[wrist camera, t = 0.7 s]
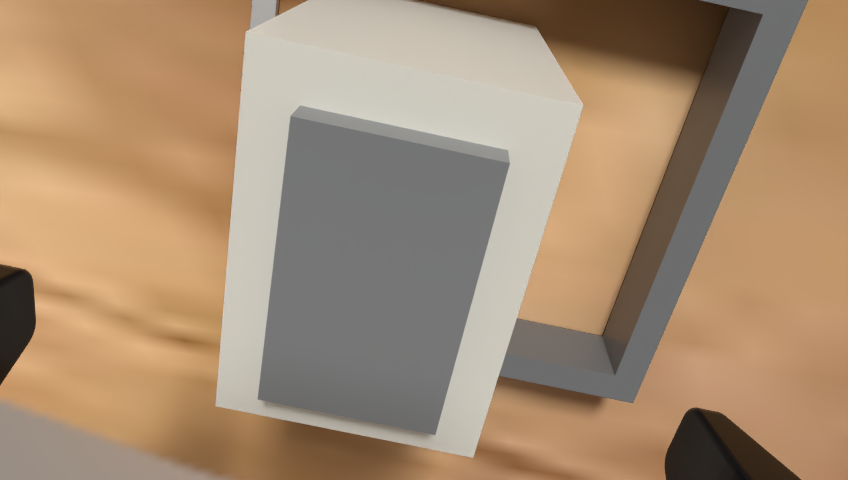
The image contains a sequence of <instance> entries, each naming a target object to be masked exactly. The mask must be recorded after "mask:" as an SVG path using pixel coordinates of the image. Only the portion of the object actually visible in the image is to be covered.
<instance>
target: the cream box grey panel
mask: <svg viewBox="0 0 848 480" xmlns="http://www.w3.org/2000/svg"><path fill="white" fill-rule="evenodd" d="M582 109H583V104H582V102H581V100H580V99H579V97H578V96H577V94H576V92H575V91H574V89H573V87H572V86H571V84H570V82H569V81H568V79H567V77H566V76H565V74H564V72H563V71H562V69H561V67H560V66H559V64H558V62H557V61H556V59H555V57H554V56H553V54H552V52H551V51H550V49H549V47H548V46H547V44H546V43H545V41H544V39H543V38H542V36H541V34H540V33H539V31H538V29H537V28H536V26H533V25H528V24H524V23H519V22H515V21H510V20H505V19H501V18H496V17H492V16H487V15H483V14H478V13H474V12H469V11H465V10H460V9H456V8H451V7H447V6H442V5H438V4H433V3H429V2H424V1H420V0H308V1H306V2H304V3H302V4H300V5H298V6H296V7H294V8H292V9H290V10H288V11H286V12H284V13H282V14H280V15H278V16H276V17H274V18H272V19H270V20H268V21H266V22H264V23H262V24H260V25H258V26H256V27H254V28H252V29H250V30H248V31H246V37H245V49H244V61H243V74H242V86H241V98H240V111H239V123H238V135H237V148H236V160H235V172H234V185H233V197H232V209H231V222H230V234H229V246H228V259H227V271H226V283H225V296H224V308H223V320H222V333H221V345H220V357H219V370H218V382H217V394H216V406H217V407H222V408H227V409H232V410H237V411H242V412H247V413H252V414H257V415H262V416H267V417H272V418H277V419H282V420H287V421H292V422H297V423H302V424H307V425H312V426H317V427H322V428H327V429H332V430H337V431H342V432H347V433H352V434H357V435H362V436H367V437H372V438H377V439H382V440H387V441H392V442H397V443H402V444H407V445H412V446H417V447H422V448H427V449H432V450H437V451H442V452H447V453H452V454H457V455H462V456H467V457H472V458H473V456H474V453H475V450H476V447H477V444H478V440H479V437H480V434H481V431H482V428H483V424H484V421H485V418H486V415H487V412H488V409H489V405H490V402H491V399H492V396H493V393H494V389H495V386H496V383H497V380H498V377H499V373H500V370H501V367H502V364H503V361H504V357H505V354H506V351H507V348H508V345H509V342H510V338H511V335H512V332H513V329H514V326H515V322H516V319H517V316H518V313H519V310H520V306H521V303H522V300H523V297H524V294H525V290H526V287H527V284H528V281H529V278H530V275H531V271H532V268H533V265H534V262H535V259H536V255H537V252H538V249H539V246H540V243H541V239H542V236H543V233H544V230H545V227H546V223H547V220H548V217H549V214H550V211H551V208H552V204H553V201H554V198H555V195H556V192H557V188H558V185H559V182H560V179H561V176H562V172H563V169H564V166H565V163H566V160H567V156H568V153H569V150H570V147H571V144H572V141H573V137H574V134H575V131H576V128H577V125H578V121H579V118H580V115H581V112H582Z"/></svg>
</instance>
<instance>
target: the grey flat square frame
mask: <svg viewBox="0 0 848 480" xmlns="http://www.w3.org/2000/svg"><path fill="white" fill-rule="evenodd" d="M701 1H706V2H710V3H715V4H719V5H723V6H728V7H730V8H729V10H728V13H727V16H726V18H725V21H724V23H723V26H722V29H721V31H720V34H719V36H718V39H717V41H716V44H715V47H714V49H713V52H712V54H711V57H710V60H709V62H708V65H707V67H706V70H705V72H704V75H703V78H702V80H701V83H700V85H699V88H698V91H697V93H696V96H695V98H694V101H693V104H692V106H691V109H690V111H689V114H688V116H687V119H686V122H685V124H684V127H683V129H682V132H681V135H680V137H679V140H678V142H677V145H676V147H675V150H674V153H673V155H672V158H671V160H670V163H669V166H668V168H667V171H666V173H665V176H664V178H663V181H662V184H661V186H660V189H659V191H658V194H657V197H656V199H655V202H654V204H653V207H652V209H651V212H650V215H649V217H648V220H647V222H646V225H645V228H644V230H643V233H642V235H641V238H640V240H639V243H638V246H637V248H636V251H635V253H634V256H633V259H632V261H631V264H630V266H629V269H628V271H627V274H626V277H625V279H624V282H623V284H622V287H621V290H620V292H619V295H618V297H617V300H616V302H615V305H614V308H613V310H612V313H611V315H610V318H609V321H608V323H607V326H606V328H605V331H604V334H603V336H599V335H594V334H590V333H585V332H580V331H575V330H570V329H565V328H561V327H556V326H551V325H546V324H541V323H536V322H532V321H527V320H522V319H516V322H515V326H514V329H513V332H512V335H511V338H510V342H509V345H508V348H507V351H506V354H505V357H504V361H503V364H502V367H501V370H500V373H499V376H502V377H507V378H512V379H517V380H522V381H527V382H531V383H536V384H541V385H546V386H551V387H556V388H561V389H566V390H571V391H575V392H580V393H585V394H590V395H595V396H600V397H605V398H610V399H615V400H620V401H624V402H629V403H633V402H634V400H635V397H636V395H637V393H638V390H639V388H640V386H641V383H642V381H643V379H644V377H645V374H646V372H647V370H648V367H649V365H650V363H651V360H652V358H653V356H654V354H655V351H656V349H657V347H658V344H659V342H660V340H661V337H662V335H663V333H664V331H665V328H666V326H667V324H668V321H669V319H670V317H671V314H672V312H673V310H674V308H675V305H676V303H677V301H678V298H679V296H680V294H681V291H682V289H683V287H684V285H685V282H686V280H687V278H688V275H689V273H690V271H691V268H692V266H693V264H694V262H695V259H696V257H697V255H698V252H699V250H700V248H701V245H702V243H703V241H704V239H705V236H706V234H707V232H708V229H709V227H710V225H711V222H712V220H713V218H714V216H715V213H716V211H717V209H718V206H719V204H720V202H721V199H722V197H723V195H724V193H725V190H726V188H727V186H728V183H729V181H730V179H731V176H732V174H733V172H734V170H735V167H736V165H737V163H738V160H739V158H740V156H741V153H742V151H743V149H744V147H745V144H746V142H747V140H748V137H749V135H750V133H751V130H752V128H753V126H754V124H755V121H756V119H757V117H758V114H759V112H760V110H761V107H762V105H763V103H764V101H765V98H766V96H767V94H768V91H769V89H770V87H771V84H772V82H773V80H774V78H775V75H776V73H777V71H778V68H779V66H780V64H781V61H782V59H783V57H784V55H785V52H786V50H787V48H788V45H789V43H790V41H791V38H792V36H793V34H794V32H795V29H796V27H797V25H798V22H799V20H800V18H801V15H802V13H803V11H804V9H805V6H806V4H807V2H808V0H701ZM278 10H279V0H252V12H251V24H250V29H252V28H254V27H256V26H258V25H260V24H262V23H264V22H266V21H268V20H270V19H272V18H274V17H276V16H278Z"/></svg>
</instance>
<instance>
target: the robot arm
mask: <svg viewBox="0 0 848 480" xmlns="http://www.w3.org/2000/svg"><path fill="white" fill-rule="evenodd" d="M35 325H36V315H35V301H34V286H33V279H32V276H31V274H30V273H29V272H28V271H27V270H25V269H21V268H16V267H11V266H6V265H1V264H0V385H1V384H2V382H3V381H4V379H5V378H6V376H7V375H8V373H9V372H10V370H11V369H12V367H13V366H14V364H15V363H16V361H17V360H18V358H19V357H20V355H21V354H22V352H23V351H24V349H25V348H26V346H27V345H28V343H29V341H30V340H31V338H32V336H33V333H34V330H35ZM665 475H666V480H801V479H800V478H799V477H797V476H796V475H795V474H794V473H793V472H791V471H790V470H789V469H788V468H787V467H786V466H784V465H783V464H782V463H781V462H780V461H778V460H777V459H776V458H775V457H774V456H772V455H771V454H770V453H769V452H768V451H766V450H765V449H764V448H763V447H762V446H761V445H759V444H758V443H757V442H756V441H755V440H753V439H752V438H751V437H750V436H749V435H747V434H746V433H745V432H744V431H743V430H741V429H740V428H739V427H738V426H737V425H736V424H734V423H733V422H732V421H731V420H730V419H728V418H727V417H726V416H725V415H723V414H722V413H719V412H715V411H710V410H705V409H701V408H691V409H689V410H688V411H687V412H686V413H685V415H684V417H683V419H682V421H681V423H680V425H679V427H678V429H677V431H676V433H675V435H674V438H673V440H672V442H671V444H670V446H669V448H668V450H667V453H666V457H665Z"/></svg>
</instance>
